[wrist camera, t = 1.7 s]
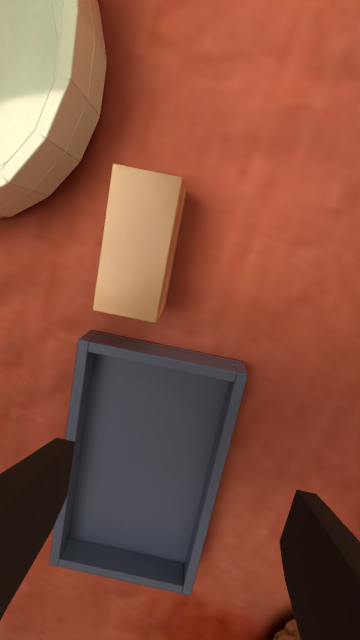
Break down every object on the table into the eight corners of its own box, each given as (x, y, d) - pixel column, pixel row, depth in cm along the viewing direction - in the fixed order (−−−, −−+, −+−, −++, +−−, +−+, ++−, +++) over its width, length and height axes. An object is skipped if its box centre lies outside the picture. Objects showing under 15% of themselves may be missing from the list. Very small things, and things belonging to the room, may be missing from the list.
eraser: (114, 297, 19) (92, 310, 15) (132, 180, 18) (112, 162, 14) (165, 307, 19) (155, 323, 15) (186, 191, 18) (182, 177, 14)
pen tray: (62, 536, 23) (48, 564, 21) (90, 329, 20) (78, 339, 18) (191, 565, 23) (190, 596, 21) (243, 361, 20) (248, 374, 18)
